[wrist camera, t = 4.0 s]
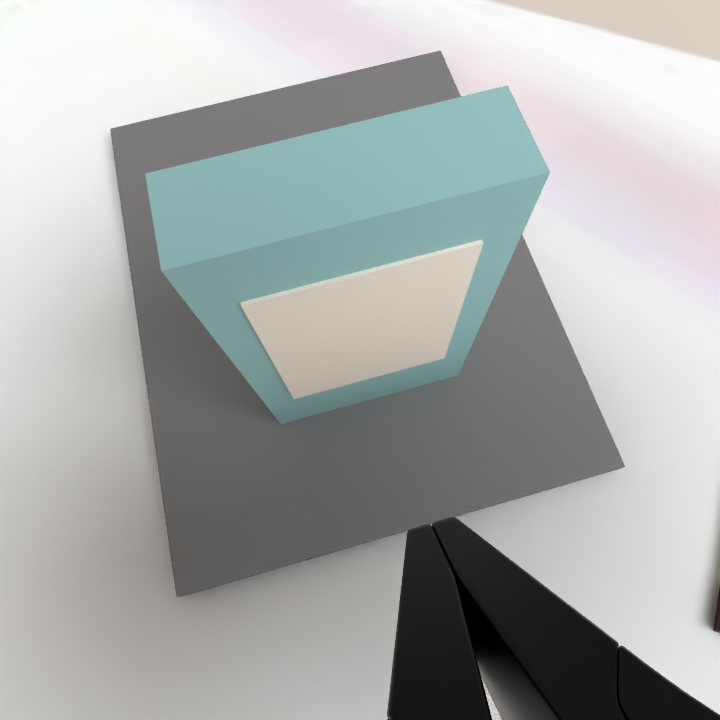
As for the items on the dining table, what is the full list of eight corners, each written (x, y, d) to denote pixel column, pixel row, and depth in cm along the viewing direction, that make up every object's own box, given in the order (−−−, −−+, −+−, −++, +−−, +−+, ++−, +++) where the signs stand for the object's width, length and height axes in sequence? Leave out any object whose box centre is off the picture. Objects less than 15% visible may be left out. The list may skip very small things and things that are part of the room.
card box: (458, 377, 17) (551, 176, 8) (281, 426, 17) (161, 275, 8) (440, 327, 18) (507, 85, 9) (269, 373, 18) (144, 173, 8)
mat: (616, 469, 17) (624, 466, 16) (183, 595, 16) (176, 597, 16) (438, 62, 23) (440, 50, 22) (117, 139, 22) (110, 128, 22)
